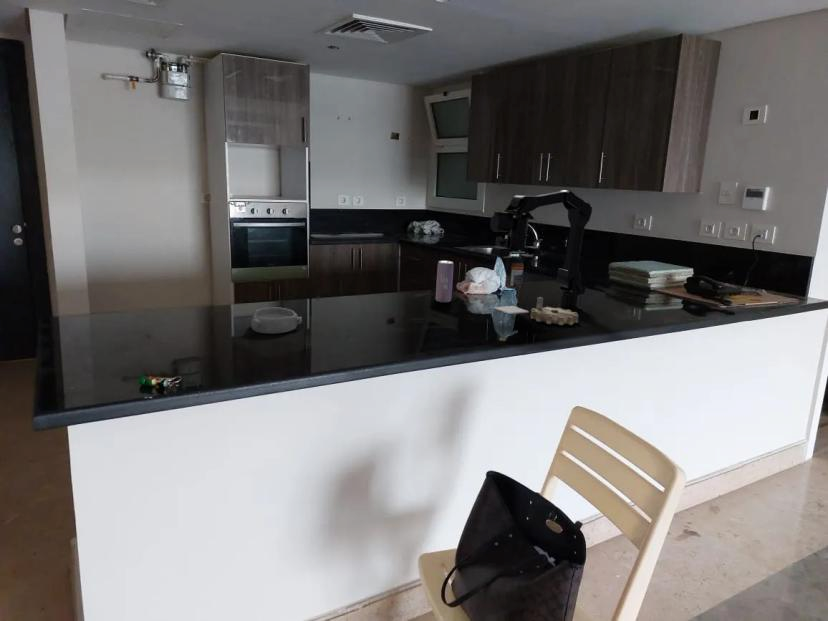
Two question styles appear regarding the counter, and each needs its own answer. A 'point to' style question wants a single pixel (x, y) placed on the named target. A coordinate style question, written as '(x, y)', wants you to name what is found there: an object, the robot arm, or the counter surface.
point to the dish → (274, 320)
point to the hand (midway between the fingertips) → (514, 275)
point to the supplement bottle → (515, 274)
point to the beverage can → (444, 281)
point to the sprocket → (553, 314)
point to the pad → (511, 310)
